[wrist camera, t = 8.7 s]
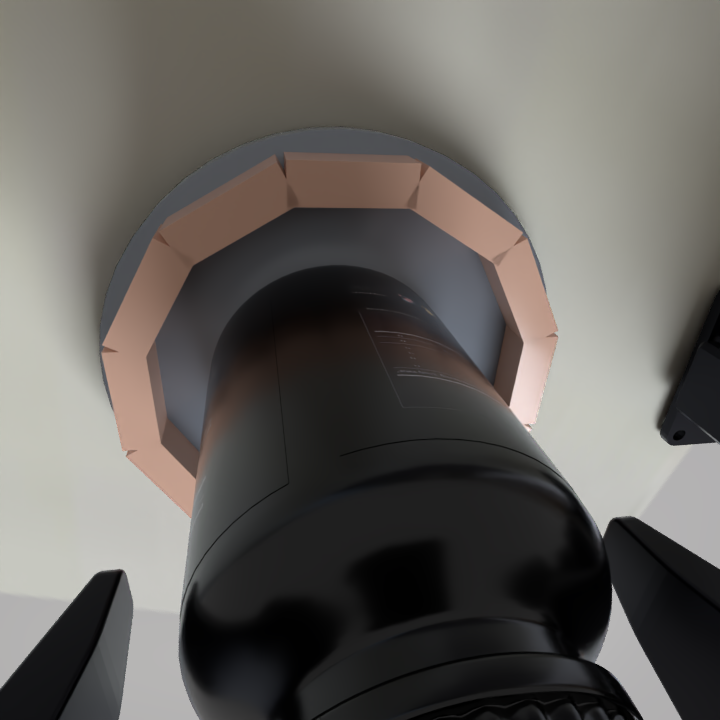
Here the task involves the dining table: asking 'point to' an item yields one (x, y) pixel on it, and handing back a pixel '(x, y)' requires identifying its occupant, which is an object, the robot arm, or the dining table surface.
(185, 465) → the bottle holder
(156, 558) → the dining table surface
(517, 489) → the supplement bottle
